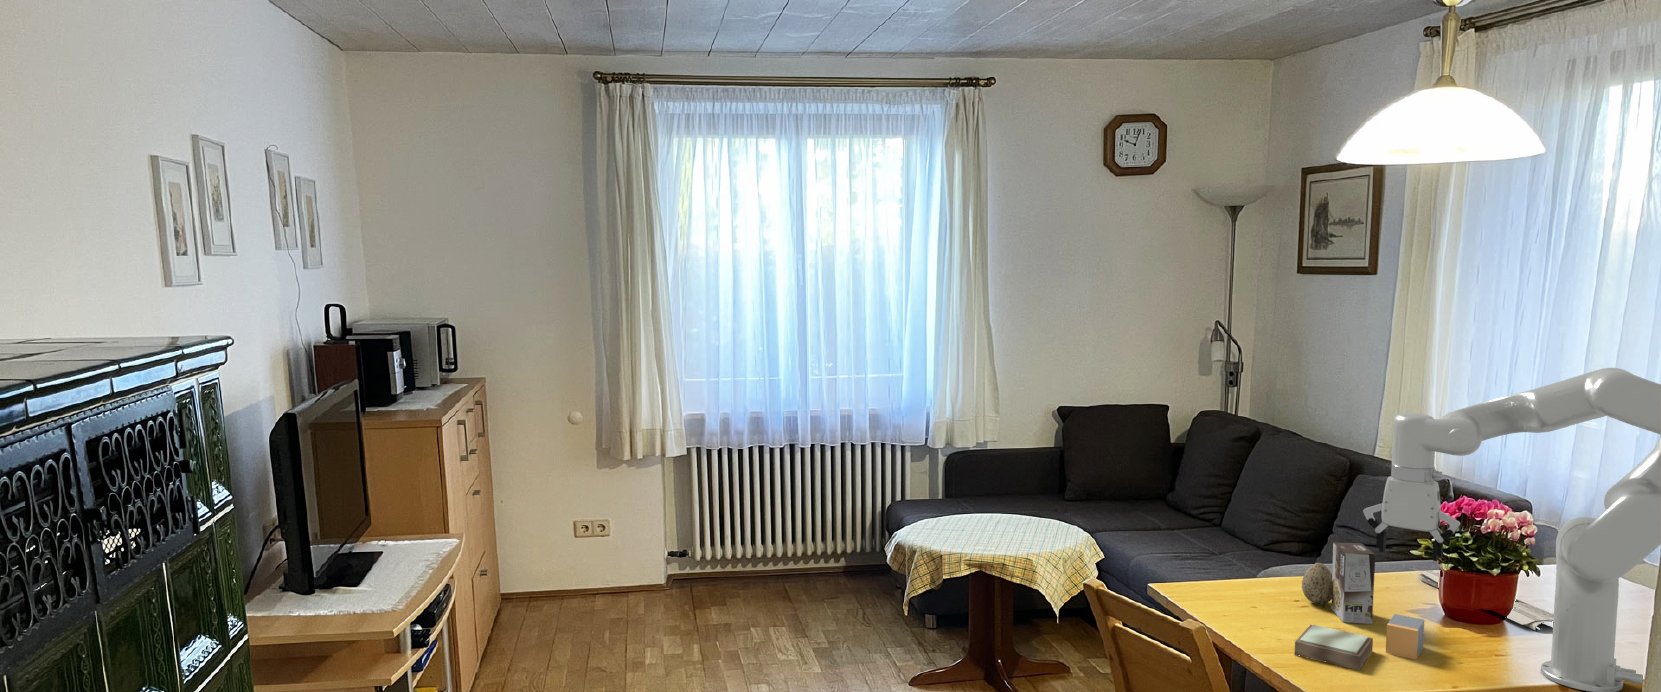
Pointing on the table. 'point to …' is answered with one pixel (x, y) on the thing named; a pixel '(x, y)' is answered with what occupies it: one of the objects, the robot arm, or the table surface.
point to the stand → (1334, 646)
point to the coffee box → (1353, 582)
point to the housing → (1405, 636)
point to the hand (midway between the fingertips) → (1408, 555)
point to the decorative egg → (1317, 584)
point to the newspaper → (1519, 614)
